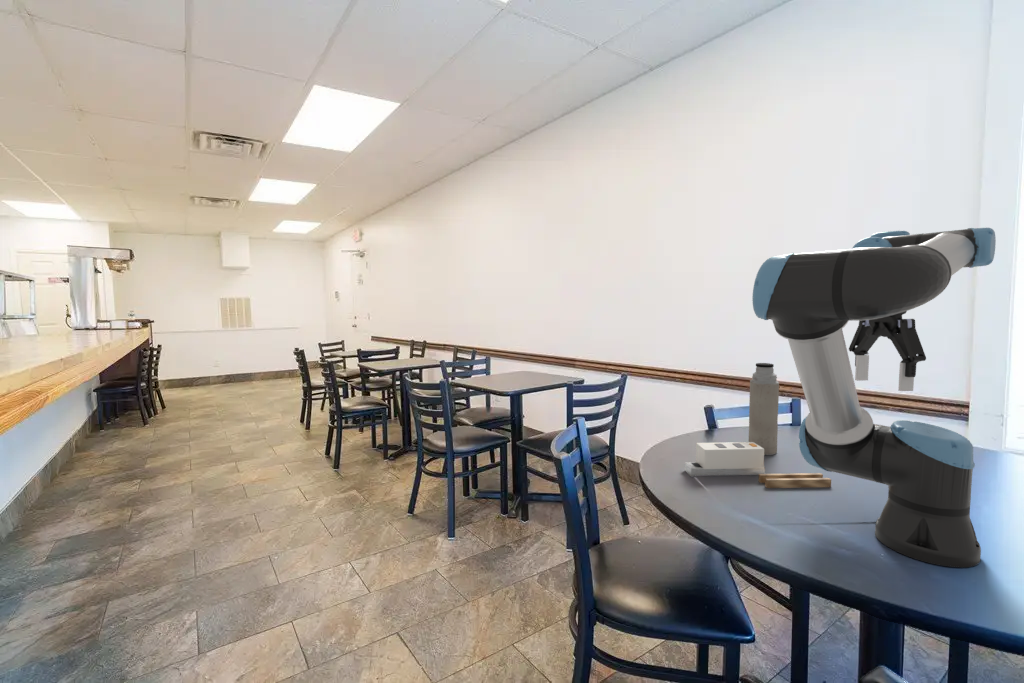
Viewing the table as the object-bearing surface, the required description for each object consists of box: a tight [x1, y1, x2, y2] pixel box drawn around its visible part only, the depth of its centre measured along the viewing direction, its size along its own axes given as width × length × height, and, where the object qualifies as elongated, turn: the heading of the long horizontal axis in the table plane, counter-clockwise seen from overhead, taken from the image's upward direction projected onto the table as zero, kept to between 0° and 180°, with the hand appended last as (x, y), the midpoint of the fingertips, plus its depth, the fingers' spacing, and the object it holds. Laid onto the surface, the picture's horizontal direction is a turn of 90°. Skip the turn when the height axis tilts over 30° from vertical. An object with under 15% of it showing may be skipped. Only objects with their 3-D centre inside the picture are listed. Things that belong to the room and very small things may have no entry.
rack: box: [758, 472, 832, 489], centre depth 117 cm, size 16×4×2 cm, turn 89°
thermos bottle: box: [748, 362, 780, 456], centre depth 143 cm, size 8×8×28 cm
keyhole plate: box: [684, 461, 766, 478], centre depth 127 cm, size 5×20×2 cm, turn 89°
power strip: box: [695, 441, 765, 469], centre depth 126 cm, size 16×6×8 cm, turn 89°
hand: (882, 385), depth 110 cm, fingers open, 13 cm apart
